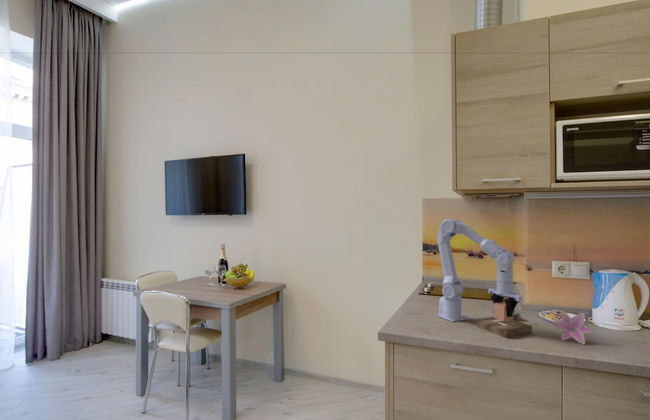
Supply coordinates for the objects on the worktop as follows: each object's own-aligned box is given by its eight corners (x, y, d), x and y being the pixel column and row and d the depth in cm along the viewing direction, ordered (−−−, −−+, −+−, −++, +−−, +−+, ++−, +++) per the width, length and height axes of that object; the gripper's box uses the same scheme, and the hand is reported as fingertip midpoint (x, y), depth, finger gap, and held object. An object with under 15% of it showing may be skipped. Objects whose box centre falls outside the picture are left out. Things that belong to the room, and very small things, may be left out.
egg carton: (512, 316, 164) (512, 307, 164) (523, 321, 156) (523, 311, 156) (490, 316, 163) (490, 307, 163) (500, 321, 155) (500, 311, 155)
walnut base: (477, 326, 147) (477, 318, 147) (501, 322, 152) (501, 315, 152) (506, 338, 134) (506, 329, 134) (531, 333, 140) (531, 325, 140)
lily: (545, 337, 139) (548, 319, 135) (563, 322, 144) (566, 304, 139) (578, 357, 129) (582, 338, 125) (596, 340, 134) (601, 322, 129)
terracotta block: (494, 317, 144) (494, 303, 144) (502, 316, 146) (502, 302, 146) (504, 321, 140) (504, 305, 140) (512, 319, 142) (512, 304, 142)
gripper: (482, 278, 148) (482, 310, 148) (513, 285, 135) (512, 321, 135) (495, 277, 151) (494, 309, 151) (526, 284, 138) (525, 319, 138)
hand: (504, 314), depth 143 cm, fingers closed on terracotta block, 4 cm apart
